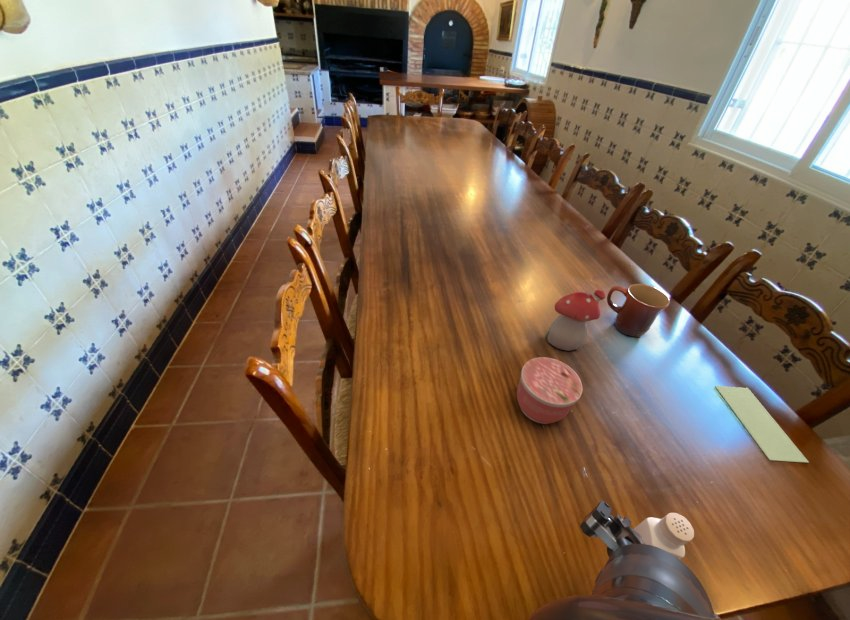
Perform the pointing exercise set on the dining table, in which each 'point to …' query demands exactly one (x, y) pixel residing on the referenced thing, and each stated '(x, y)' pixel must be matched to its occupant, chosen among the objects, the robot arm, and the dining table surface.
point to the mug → (637, 308)
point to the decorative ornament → (574, 319)
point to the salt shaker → (667, 533)
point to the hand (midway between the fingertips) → (657, 561)
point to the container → (547, 390)
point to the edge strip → (761, 425)
